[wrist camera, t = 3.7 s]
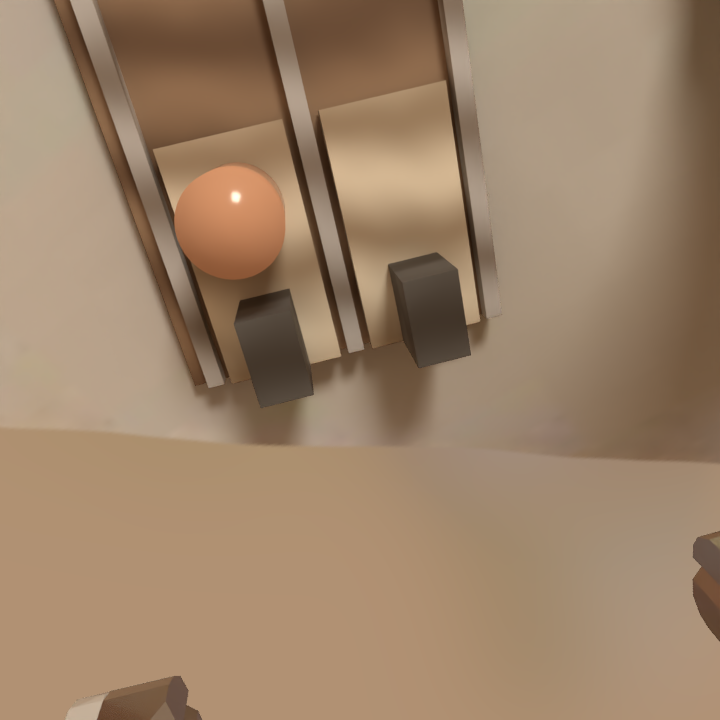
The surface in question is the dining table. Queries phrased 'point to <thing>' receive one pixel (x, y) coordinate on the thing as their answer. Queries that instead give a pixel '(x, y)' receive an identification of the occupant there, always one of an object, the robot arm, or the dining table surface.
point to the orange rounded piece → (231, 221)
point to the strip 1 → (262, 273)
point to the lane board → (268, 118)
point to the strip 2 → (405, 219)
